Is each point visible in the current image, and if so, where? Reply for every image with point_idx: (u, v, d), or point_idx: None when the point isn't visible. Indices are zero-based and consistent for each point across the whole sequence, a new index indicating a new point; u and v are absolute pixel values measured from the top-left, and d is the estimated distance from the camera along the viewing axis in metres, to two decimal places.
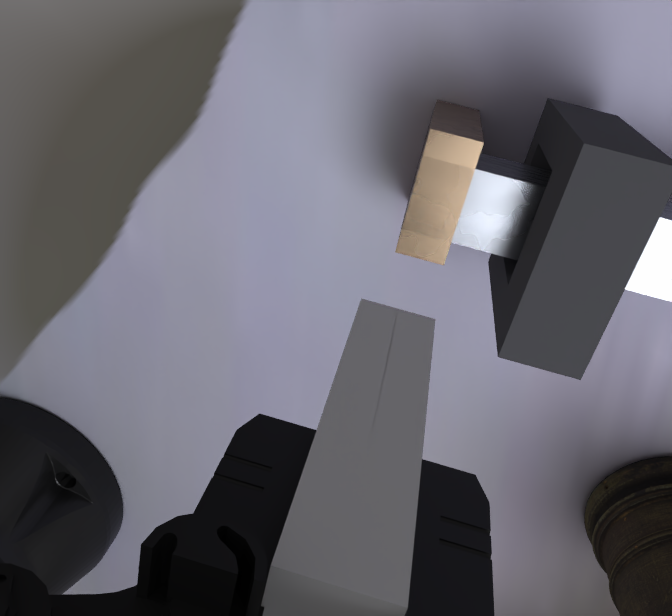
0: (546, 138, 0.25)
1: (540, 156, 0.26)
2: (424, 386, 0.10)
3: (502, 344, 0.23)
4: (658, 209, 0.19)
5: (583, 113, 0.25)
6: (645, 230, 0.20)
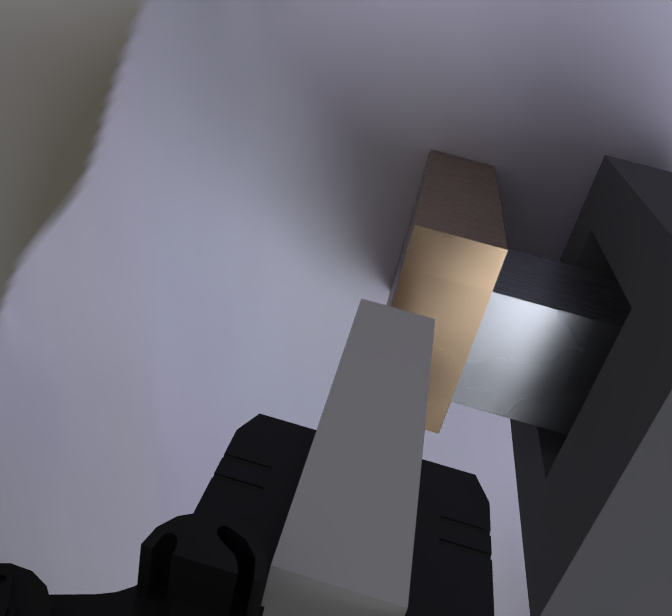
0: (609, 230, 0.15)
1: (594, 249, 0.17)
2: (424, 386, 0.10)
3: (540, 611, 0.13)
4: None
5: (670, 187, 0.15)
6: None
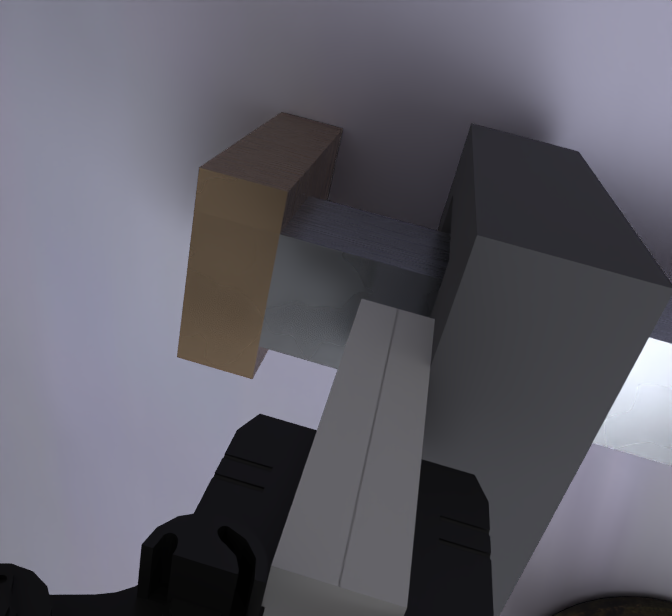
0: (458, 192, 0.15)
1: None
2: (423, 386, 0.10)
3: None
4: (626, 361, 0.10)
5: (519, 151, 0.16)
6: (602, 395, 0.10)
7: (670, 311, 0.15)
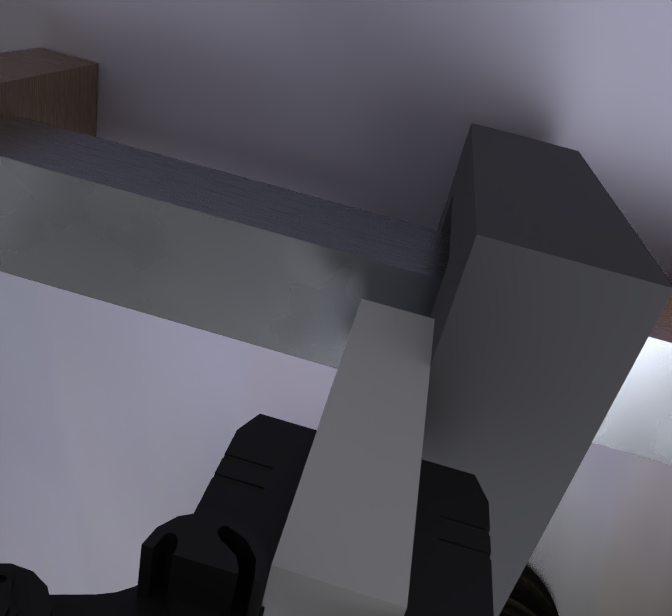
0: (457, 191, 0.15)
1: None
2: (424, 386, 0.10)
3: None
4: (625, 360, 0.10)
5: (518, 151, 0.16)
6: (601, 395, 0.10)
7: (342, 220, 0.16)
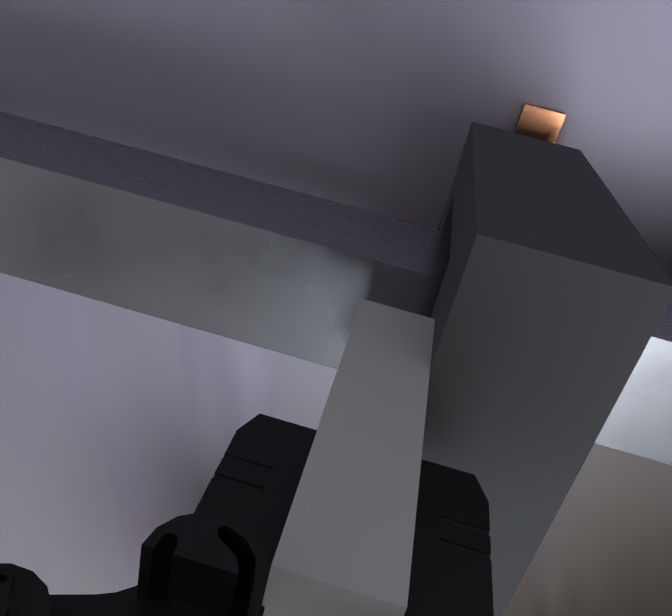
0: (458, 191, 0.15)
1: None
2: (424, 386, 0.10)
3: None
4: (628, 360, 0.10)
5: (520, 149, 0.15)
6: (604, 395, 0.10)
7: (102, 155, 0.16)
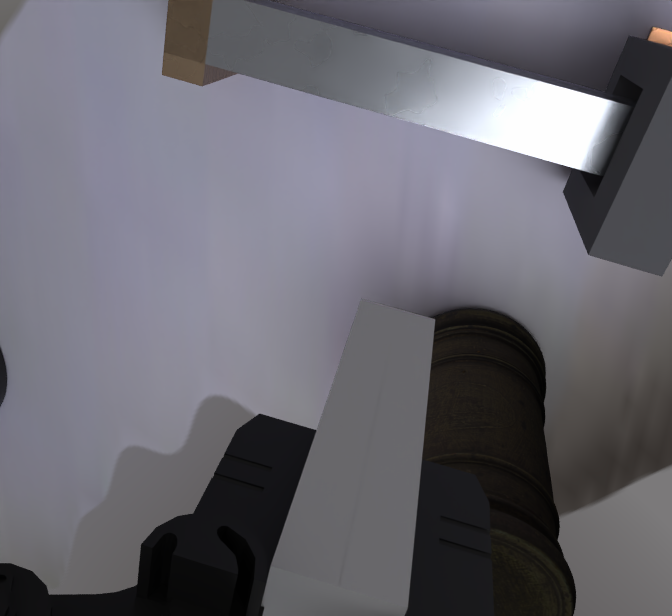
0: (631, 67, 0.28)
1: (622, 87, 0.29)
2: (424, 386, 0.10)
3: (593, 243, 0.25)
4: None
5: (665, 45, 0.28)
6: None
7: (423, 44, 0.28)
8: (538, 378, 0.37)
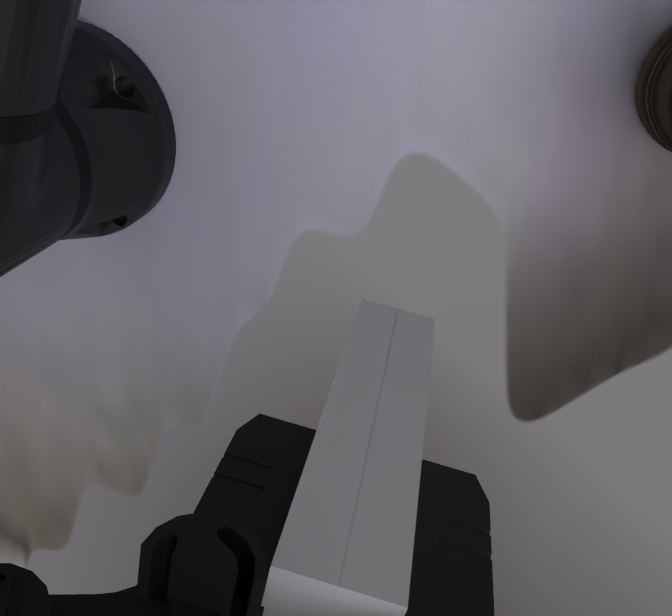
0: None
1: None
2: (424, 386, 0.10)
3: None
4: None
5: None
6: None
7: None
8: None
